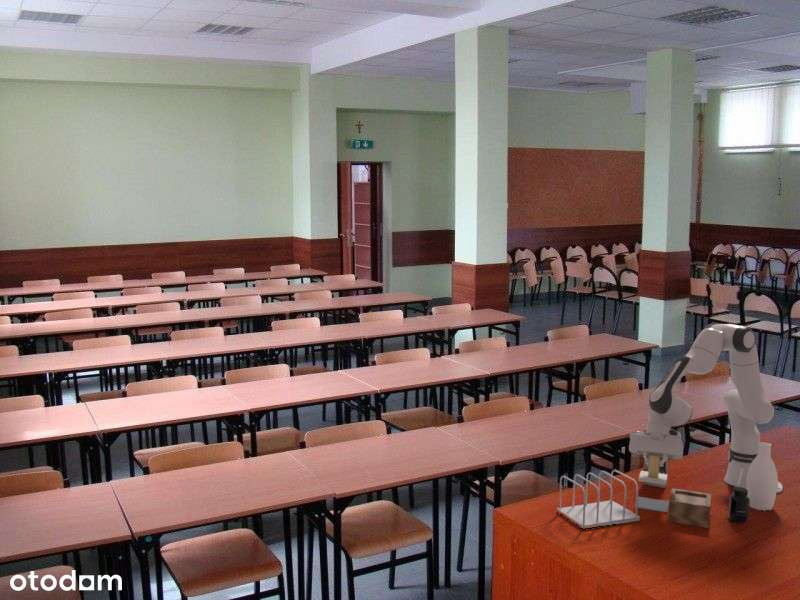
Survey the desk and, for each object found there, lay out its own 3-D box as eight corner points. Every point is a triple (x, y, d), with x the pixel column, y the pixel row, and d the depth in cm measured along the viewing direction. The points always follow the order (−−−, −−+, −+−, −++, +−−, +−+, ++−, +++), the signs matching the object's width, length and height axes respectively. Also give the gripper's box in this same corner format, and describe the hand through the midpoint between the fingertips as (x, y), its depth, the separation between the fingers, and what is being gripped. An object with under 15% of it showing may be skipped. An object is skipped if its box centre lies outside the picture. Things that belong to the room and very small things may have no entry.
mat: (669, 502, 305) (669, 501, 305) (666, 513, 294) (666, 512, 294) (637, 497, 309) (637, 496, 309) (634, 507, 298) (634, 506, 298)
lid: (667, 477, 303) (669, 454, 302) (665, 485, 294) (667, 462, 293) (640, 472, 307) (642, 451, 306) (638, 480, 298) (639, 458, 296)
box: (709, 514, 293) (711, 494, 292) (708, 528, 281) (710, 507, 280) (670, 508, 299) (672, 488, 298) (668, 521, 286) (669, 500, 285)
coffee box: (667, 483, 326) (669, 446, 324) (665, 488, 320) (667, 451, 318) (645, 479, 330) (647, 443, 328) (642, 484, 324) (644, 447, 322)
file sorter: (611, 504, 302) (613, 466, 300) (640, 522, 285) (642, 481, 284) (556, 512, 293) (558, 473, 291) (582, 531, 277) (584, 489, 275)
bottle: (745, 509, 299) (750, 446, 296) (743, 499, 309) (748, 438, 306) (777, 514, 295) (782, 449, 292) (774, 503, 305) (779, 441, 302)
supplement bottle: (739, 524, 284) (742, 493, 283) (724, 518, 290) (726, 487, 289) (752, 521, 287) (754, 490, 286) (736, 515, 293) (739, 484, 292)
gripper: (630, 426, 308) (625, 456, 301) (684, 433, 301) (681, 464, 293) (630, 434, 313) (626, 464, 305) (684, 441, 305) (681, 472, 297)
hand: (653, 464), depth 299 cm, fingers closed on lid, 4 cm apart
